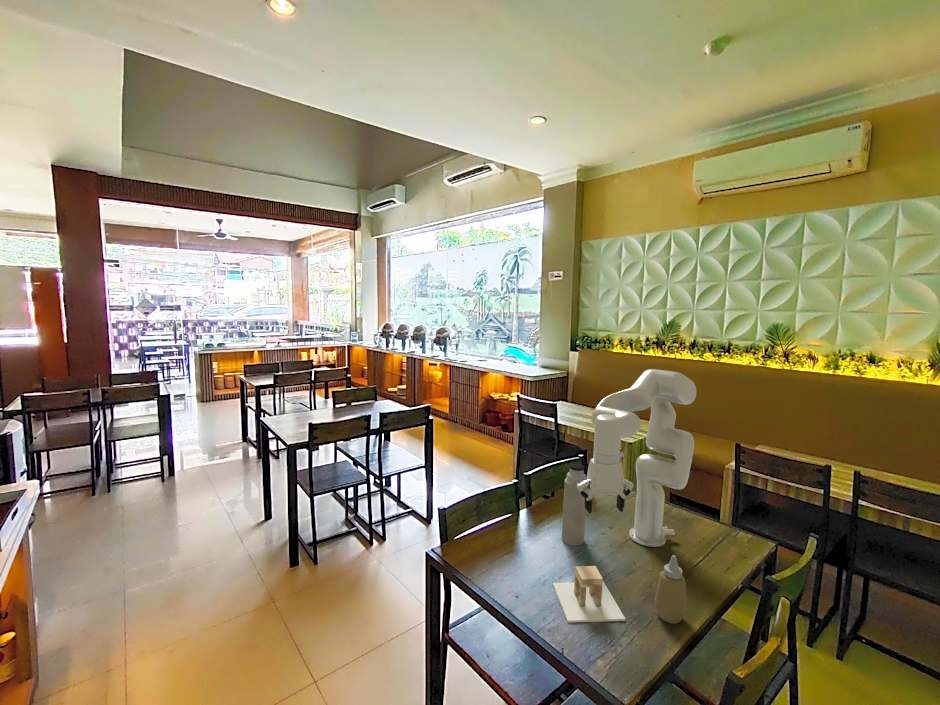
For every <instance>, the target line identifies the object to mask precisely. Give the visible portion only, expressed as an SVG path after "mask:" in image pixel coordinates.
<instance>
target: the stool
mask: <svg viewBox="0 0 940 705" xmlns="http://www.w3.org/2000/svg"><path fill="white" fill-rule="evenodd" d="M574 567H575V570H574V582H575V584H574V594H575V596H579V605H580V607H585V602H586V587H589V593H590V595H591V596H595V605H596V607H601V600H602V585H603V582H604V578H603V577H602V575H601V573H600V571H599V570H598V568H597V566H596V565H583V566H582V565H581V566H577V565H576V566H574Z"/></svg>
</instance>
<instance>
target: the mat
mask: <svg viewBox="0 0 940 705" xmlns="http://www.w3.org/2000/svg"><path fill="white" fill-rule="evenodd" d="M574 584H575V581H574V582H573V581H570V582H552V586H553V589H554V591H555V593H556V596H557V599H558V601H559V604H560V606H561V609H562V612H563V615H564V616H565V619H566V622H567V623H570V624H572V623H597V622H602V623H604V622H626V617H625V615H624V614H623V613H622V610H621V609H620V607H619V606H618V604H617V602H616V600H615V599H614V597H613V595H612V593H611V592H610V589H609V588H608V587H607V585H606V583H605V582H604V581H603V585H602V600H601V607H596V605H595V596H591V595H590V593H589V587H586V602H585V607H580V605H579V596H575V594H574Z"/></svg>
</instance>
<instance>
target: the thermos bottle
mask: <svg viewBox="0 0 940 705" xmlns="http://www.w3.org/2000/svg"><path fill="white" fill-rule="evenodd" d="M584 471H585V467H584V465H582V464H580V463H571V464H570V465H569V471H568V472H567V473H566V478H564V489H563V504H562V506H563V507H562V524H561V525H562V526H561V540H562V541H563V543H565V544H567V545H570V546H581V545H583V544H584V542H585V531H586V518H587V516H586V512H587V509H585V498H584V497H583V496H582V495H581V494H580V492H579V490H578V488H577V484H579V483H581V482H583V481H585V480H587V474H585V473H584ZM583 490H584V492H586V491H587V490H588V488H587V486H586V487H584V488H583Z"/></svg>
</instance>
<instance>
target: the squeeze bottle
mask: <svg viewBox="0 0 940 705" xmlns="http://www.w3.org/2000/svg"><path fill="white" fill-rule="evenodd" d="M686 584H687V583H686V579H685V577H684V576H683V569H682V568H681V567H680V566H679V563H678V557H677V555H674V554H672V555H671V557H670V561H669V562H668V563H667V564H665V565H664V566H663V570H662V571H661V572H659V578H658V581H657V587H656V591H655V597H654V601H653V602H654V605H655V608H656V612H657V615H658V617H659V618H660V619H661V620H662V621H664V622H666V623H669V624H673V625H675V624H679V623H680V622H681V621H682V619H683V617H684V615H685V614H686V612H687V591H686V590H687V589H686V588H687V586H686Z"/></svg>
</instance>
